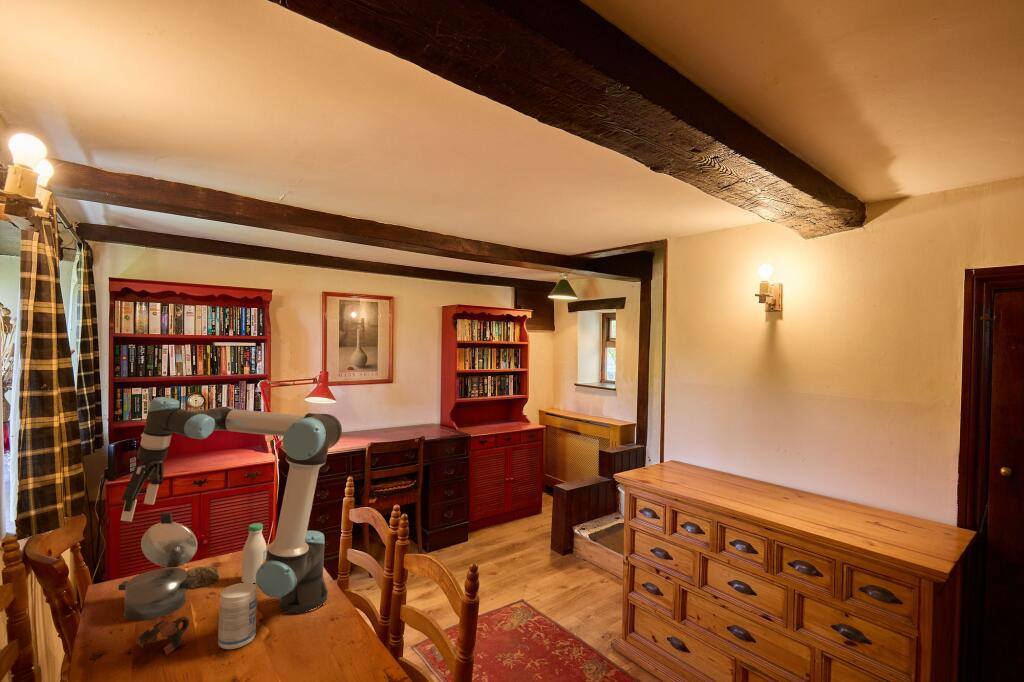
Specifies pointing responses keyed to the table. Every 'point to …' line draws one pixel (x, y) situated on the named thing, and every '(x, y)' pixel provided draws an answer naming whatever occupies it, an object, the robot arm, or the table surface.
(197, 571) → the speckled stone
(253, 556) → the milk bottle
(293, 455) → the robot arm
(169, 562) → the lid
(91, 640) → the table surface
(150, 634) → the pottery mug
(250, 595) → the supplement tub
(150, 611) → the cooker pot
